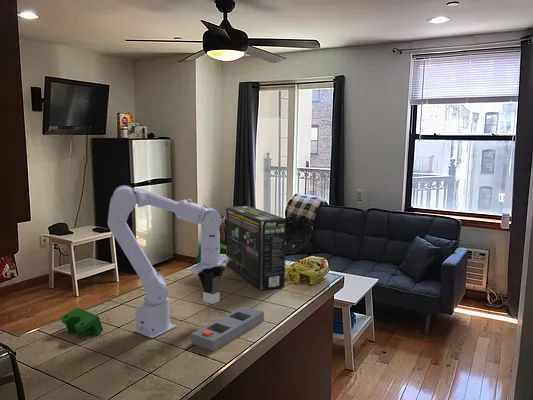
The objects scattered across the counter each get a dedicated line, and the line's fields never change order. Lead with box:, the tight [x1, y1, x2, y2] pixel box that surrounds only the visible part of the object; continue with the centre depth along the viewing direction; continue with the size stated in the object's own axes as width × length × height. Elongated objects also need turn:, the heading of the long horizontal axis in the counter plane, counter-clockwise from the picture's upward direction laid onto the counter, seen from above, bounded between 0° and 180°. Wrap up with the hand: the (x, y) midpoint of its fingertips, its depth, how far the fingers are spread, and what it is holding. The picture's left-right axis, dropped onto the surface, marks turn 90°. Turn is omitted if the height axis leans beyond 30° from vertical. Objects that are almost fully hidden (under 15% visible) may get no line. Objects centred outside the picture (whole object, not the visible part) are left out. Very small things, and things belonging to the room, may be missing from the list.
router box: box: [225, 205, 287, 291], centre depth 180 cm, size 36×11×27 cm, turn 27°
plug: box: [202, 275, 221, 305], centre depth 136 cm, size 3×4×8 cm
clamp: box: [60, 306, 104, 339], centre depth 129 cm, size 12×6×9 cm, turn 48°
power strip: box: [190, 305, 265, 352], centre depth 130 cm, size 24×8×4 cm, turn 145°
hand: (211, 290), depth 136 cm, fingers closed on plug, 3 cm apart
